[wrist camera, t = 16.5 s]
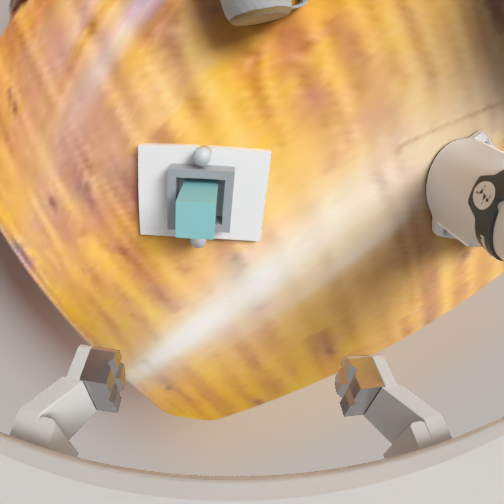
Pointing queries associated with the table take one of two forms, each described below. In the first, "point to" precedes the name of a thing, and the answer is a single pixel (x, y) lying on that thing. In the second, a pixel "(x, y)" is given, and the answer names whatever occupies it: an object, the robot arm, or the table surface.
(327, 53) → the table surface
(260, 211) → the housing plate
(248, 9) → the ceramic mug
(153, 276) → the table surface
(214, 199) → the block
